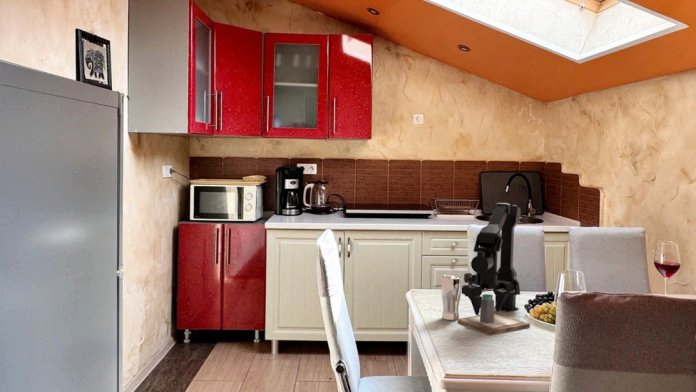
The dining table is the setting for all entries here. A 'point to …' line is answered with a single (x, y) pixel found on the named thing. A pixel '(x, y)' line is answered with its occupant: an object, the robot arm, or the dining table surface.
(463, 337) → the dining table surface
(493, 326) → the wooden tray
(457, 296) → the metal tumbler
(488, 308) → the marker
